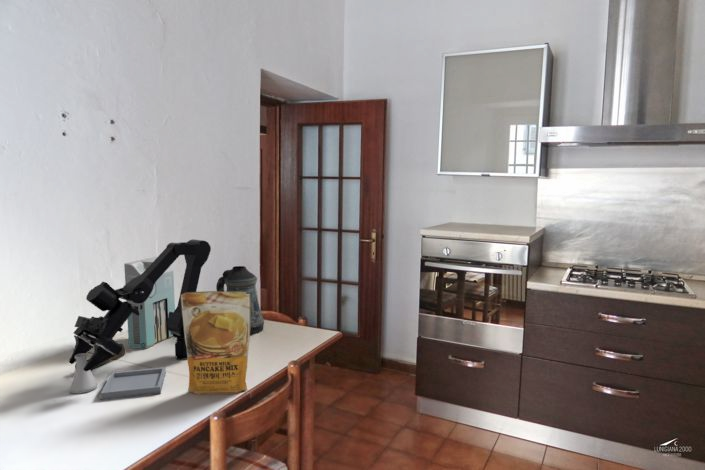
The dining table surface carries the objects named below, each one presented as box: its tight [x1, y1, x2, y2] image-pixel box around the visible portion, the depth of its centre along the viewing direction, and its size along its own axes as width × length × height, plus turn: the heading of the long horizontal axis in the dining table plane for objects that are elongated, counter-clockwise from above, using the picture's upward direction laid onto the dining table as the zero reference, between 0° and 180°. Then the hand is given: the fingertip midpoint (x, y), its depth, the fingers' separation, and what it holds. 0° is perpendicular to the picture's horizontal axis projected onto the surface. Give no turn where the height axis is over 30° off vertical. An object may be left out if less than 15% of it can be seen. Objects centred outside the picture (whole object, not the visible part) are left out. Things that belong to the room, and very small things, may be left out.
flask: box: [68, 352, 98, 394], centre depth 142 cm, size 7×7×10 cm
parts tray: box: [100, 366, 167, 401], centre depth 144 cm, size 15×15×2 cm
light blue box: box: [123, 256, 176, 350], centre depth 183 cm, size 16×8×30 cm, turn 162°
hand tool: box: [74, 343, 126, 371], centre depth 162 cm, size 19×4×5 cm, turn 160°
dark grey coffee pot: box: [215, 265, 265, 336], centre depth 196 cm, size 16×19×25 cm
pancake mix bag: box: [179, 290, 251, 395], centre depth 140 cm, size 7×19×28 cm, turn 92°
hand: (77, 366), depth 141 cm, fingers open, 9 cm apart
